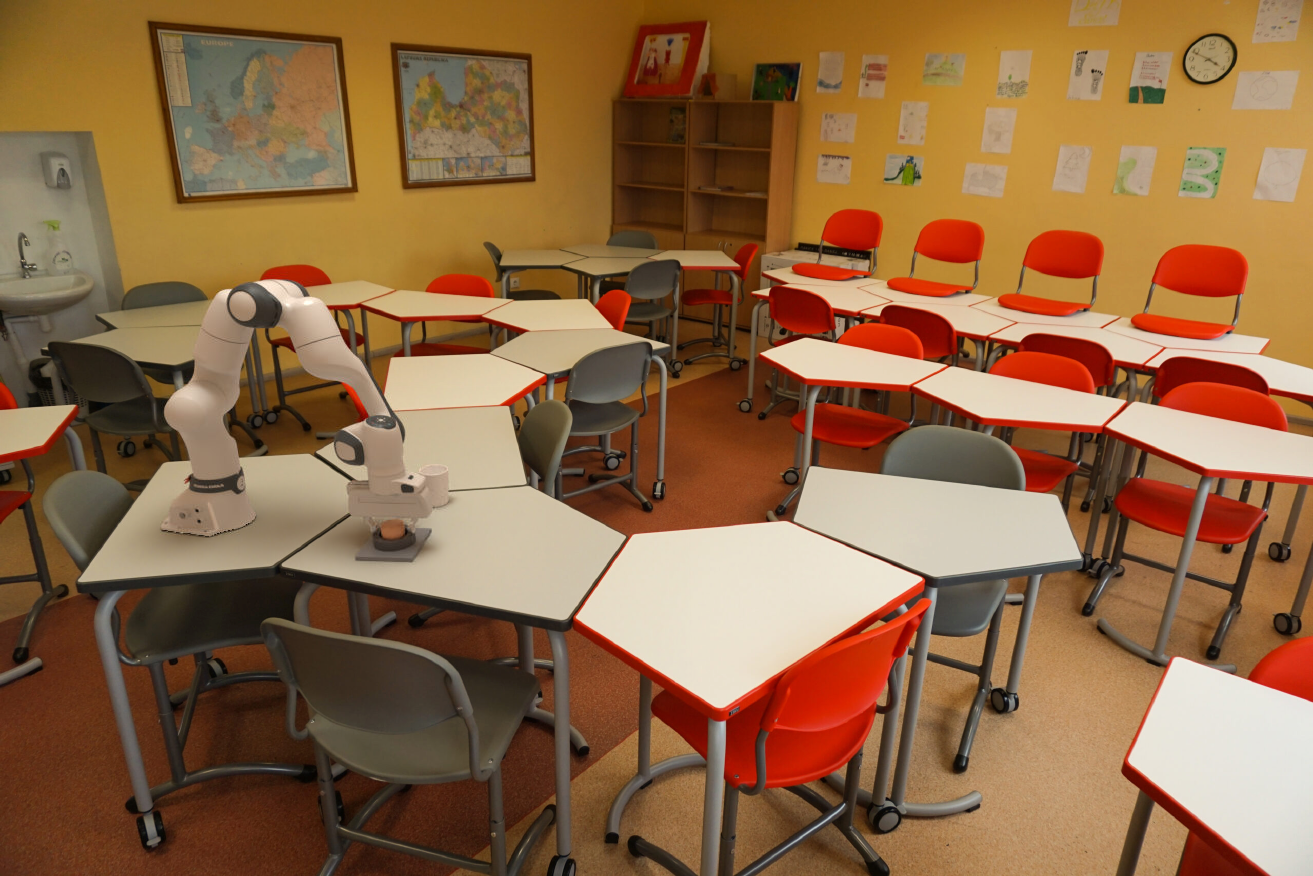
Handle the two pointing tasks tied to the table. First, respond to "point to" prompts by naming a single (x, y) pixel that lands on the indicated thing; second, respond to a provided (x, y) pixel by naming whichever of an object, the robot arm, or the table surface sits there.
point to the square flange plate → (394, 546)
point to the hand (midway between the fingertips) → (393, 531)
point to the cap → (392, 529)
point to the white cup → (436, 483)
